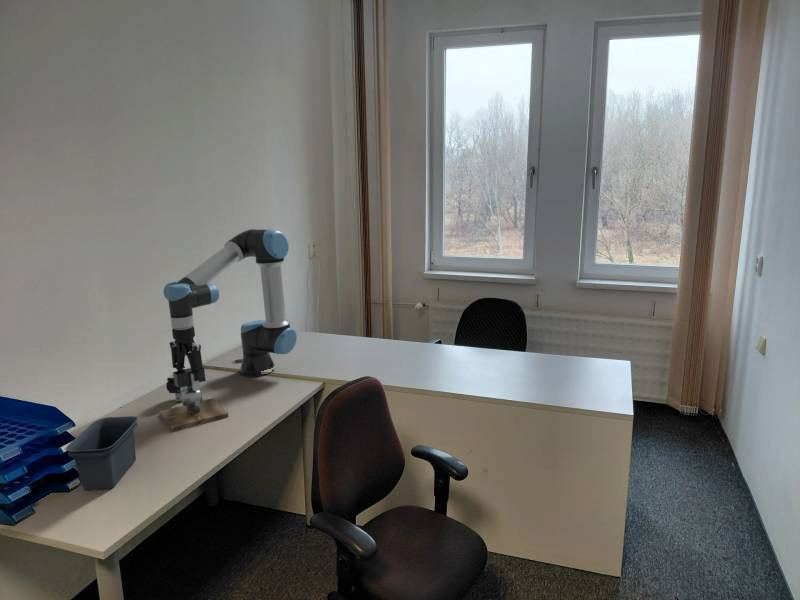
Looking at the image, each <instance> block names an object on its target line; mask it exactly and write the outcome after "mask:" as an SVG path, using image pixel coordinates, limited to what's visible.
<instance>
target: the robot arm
mask: <svg viewBox="0 0 800 600" xmlns="http://www.w3.org/2000/svg"><path fill="white" fill-rule="evenodd" d="M289 247H290V246H289V241H288V238H287V236H286V235H285V234H284V233H283V232H281V230H275V229H255V228H253V229H252V228H251V229H248V230H244V231H241V232H240V233H238V234H237V235H235V236H234V237H232V238H231V239H229V240H228V241H226V242H225V243H224V246H223V248H221V249H220V250H218V251H216V253H214V254H213V255H212V256H211V257H209V258H207V259H206V260H205V261H204V262H202V263H200V264H199V265H198V266H197V267H196V268H195V269H193V270H191V271H190V272H189V273H188V274H186V275H185V276H184V277H181V279H179V280H177V281H173V282H172V281H171V282H168V283H167V284H165V285H164V287H163V296H164V298H165V299H166V300H167V302H168V307H169V314H170V315H169V316H170V324H171V325H170V326H171V328H172V329H171V330H172V331H171V332H172V339H173V340H174V341H170V342H169V346H170V350H171V351H170V352H171V361H172V368H173V369H176V371H180V370H184V369H186V366H185V360H186V357H187V360H188V363H189V366H190V367H189V368H191V370H192V372H191V382H192V390H196V389H198V388H201V387H200V382H199V371H202V370H203V368H204V366H203V360H202V358H203V357H202V352H201V349H202V345H201V344H199V343H198V344H196V343H195V340H194V338H195V336H196V332H195V327H194V324H195V323H194V322H195V321H194V316H193V315H194V312H193V311H194V310H193V309H195V308H199V307H204V306H207V305H208V306H209V305H212V304H214V303H217V302H218V301H219V298H220V290H219V288H218V287H217V286H216V285H215V284H214V283H210V282H212V281H213V280H214V279H216V278H217V277H218V276H219V275H221V274H222V273H223V272H224V271H226V270H228V268H230V267H231V266H233V264H235V263H236V262H238V263H240V262H241V261H242V260H244V259H245V258H246V259H247V258H250V257H253V258H255V263H256V265H258V266H259V268H260V269H259V270H260V276H261V278H260V279H261V285H262V286H261V287H262V296H263V306H264V315H265V316H264V317H265V319H259V320H252V321H249V322H244V323H243V324H242V325H240V339H241V348H242V361H241V364H240V374H241V375H242V376H245V377H260V376H261V375H262V374H261V371H264V370H267V369H271V368H273V367H274V366H275V363H274V360H273V358H272V355H271V354H276V355H287V354H289V353H291V351H293V350H294V348H295V346H296V344H297V338H298V335H297V332H296V331H295V329H294V328H292V327H291V324H290V320H289V319H287V317H286V306H285V295H284V285H283V284H284V283H283V274H282V264H283V263H284V262H285V257H286V256H287V255H288V252H289ZM270 353H271V354H270ZM262 376H263V375H262ZM184 387H185V386H184ZM181 388H183V387H181Z"/></svg>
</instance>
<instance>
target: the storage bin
mask: <svg viewBox="0 0 800 600" xmlns="http://www.w3.org/2000/svg"><path fill="white" fill-rule="evenodd" d="M138 420H139V418H138V417H137V416H133V415H131V416H128V415H127V416H112V417H111V416H110V417H103V418H99V419H97V420H95V421H93V422H92V423H91V424H90V425H89V426H88V427H86V428H85V430H83V431H82V432H81V433H80V434H79V435H77V437H76V438H74V441H73V440H72V441H71V442H70V443H69V444H68V445H67V446H66V447H65V450H66V451H68V454H67V455H68V457H71V458H73V459H74V463H75V465H76V469H77V472H78V475H79V479H80V483H81V485H82V488H83V490H85V491H91V490H90V489H99V490H110V488H111V489H114V488H115V486H116V485H117V484H118V483H119V482H120V480H121V479H122V478H123V476H125V474H126V473H127V472H128V470H130V468H131V467H132V466H133V464H134V463H135V462H136V460H137V457H136V441H135V429H136V428H137V426H138Z"/></svg>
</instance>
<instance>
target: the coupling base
mask: <svg viewBox="0 0 800 600" xmlns="http://www.w3.org/2000/svg"><path fill="white" fill-rule="evenodd" d="M159 414H160V416H161V418H162V419H163V421H164V422H165V424H166V425H167V427H168V426H169V427H168V428H169V430H170V429H171V430H170V431H171V432H176V430H177V431H179V430H184V429H187V427H188V428H191V426H192V427H195V426H197V425H198V424H199V425H203V424H206V423H210V422H213V421H218V420H222V419H224V418H228V417H229V412H228V411H227V410H226V409H225V408H224V406H222V405H221V403H219V402H218V401H217V400H216V399H215V398H214V397H211V398H207V399H202V403H200V405H199V406H184V405H183V404H182V405H179V406H175V407H171V408H166V409H163V410H160V411H159ZM217 419H218V420H217ZM202 423H203V424H202ZM194 425H195V426H194ZM199 425H198V426H199ZM183 428H184V429H183Z"/></svg>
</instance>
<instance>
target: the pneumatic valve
mask: <svg viewBox="0 0 800 600" xmlns="http://www.w3.org/2000/svg"><path fill="white" fill-rule="evenodd" d="M166 380H167V382H166V383H165V385H166V390H167V391H168V393H169V394H174V396H175V401H176V402H182V396H181V391H182V390H184V389H186V388H187V386H185V387H183V388H178V387H176V386H175V384H174V376H173V373H172V374H170V376H168V377H167V379H166Z"/></svg>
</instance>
